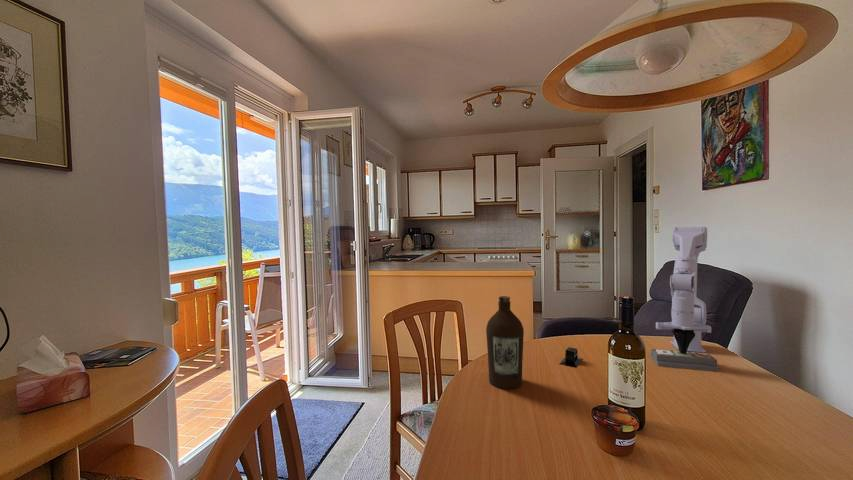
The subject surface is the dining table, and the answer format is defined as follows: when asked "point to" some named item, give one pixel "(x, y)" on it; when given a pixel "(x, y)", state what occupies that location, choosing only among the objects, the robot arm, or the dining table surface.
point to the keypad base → (684, 361)
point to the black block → (571, 358)
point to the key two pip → (682, 354)
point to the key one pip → (664, 352)
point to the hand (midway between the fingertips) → (682, 352)
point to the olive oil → (505, 347)
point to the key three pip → (701, 355)
